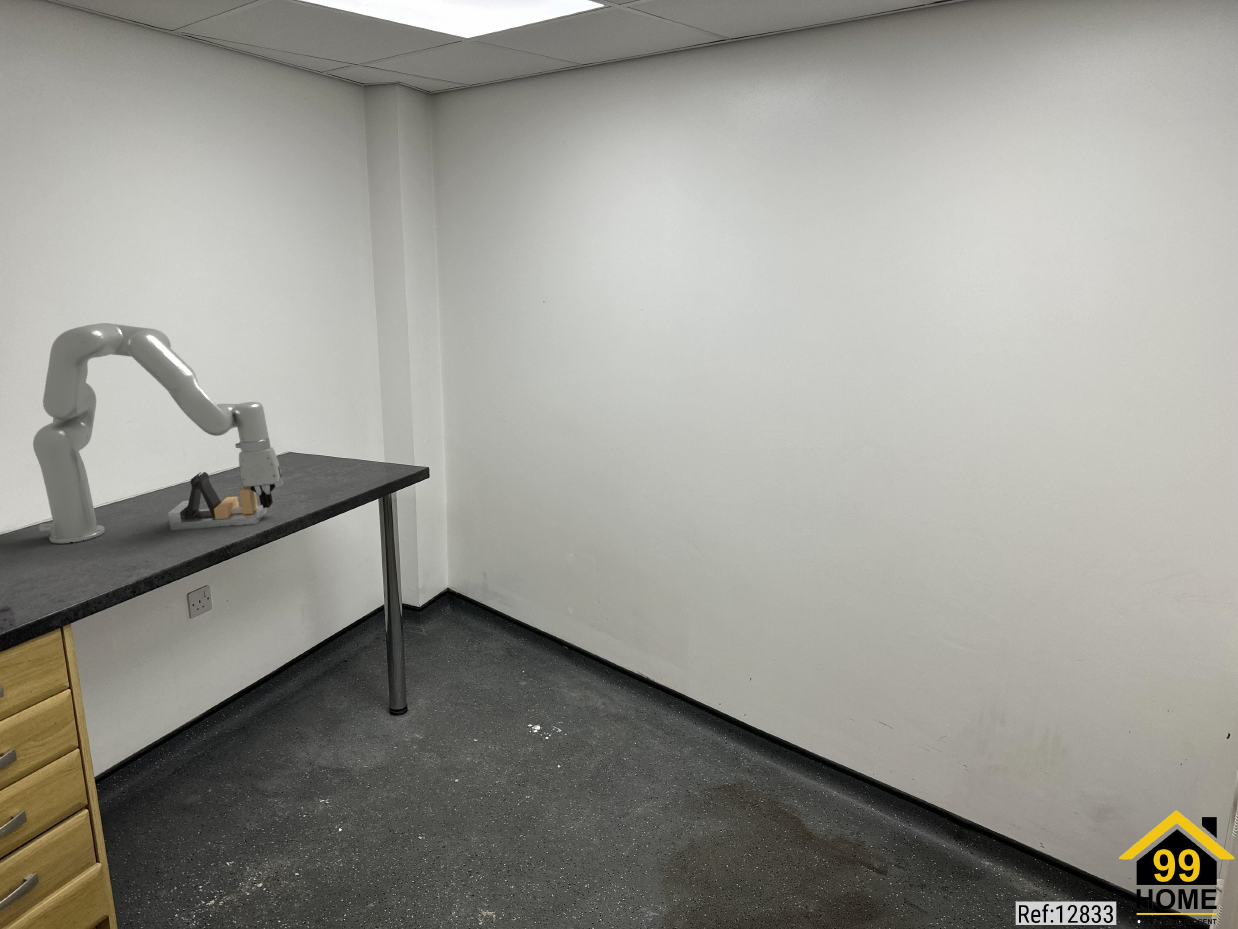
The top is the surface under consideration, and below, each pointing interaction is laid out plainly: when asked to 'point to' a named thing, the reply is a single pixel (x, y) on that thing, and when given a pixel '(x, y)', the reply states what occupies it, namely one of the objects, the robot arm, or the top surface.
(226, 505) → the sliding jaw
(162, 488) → the top surface
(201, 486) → the black triangular frame
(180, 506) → the fixed jaw
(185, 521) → the grey base plate
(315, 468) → the top surface
